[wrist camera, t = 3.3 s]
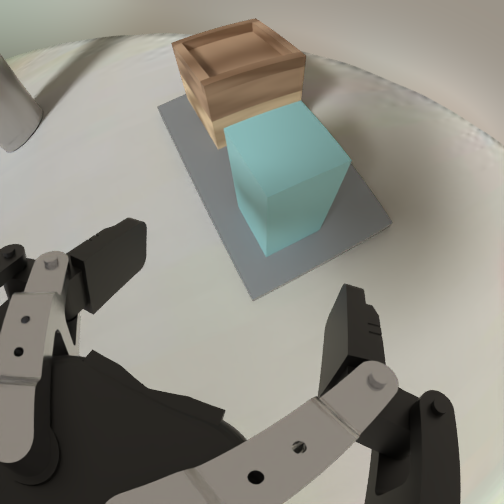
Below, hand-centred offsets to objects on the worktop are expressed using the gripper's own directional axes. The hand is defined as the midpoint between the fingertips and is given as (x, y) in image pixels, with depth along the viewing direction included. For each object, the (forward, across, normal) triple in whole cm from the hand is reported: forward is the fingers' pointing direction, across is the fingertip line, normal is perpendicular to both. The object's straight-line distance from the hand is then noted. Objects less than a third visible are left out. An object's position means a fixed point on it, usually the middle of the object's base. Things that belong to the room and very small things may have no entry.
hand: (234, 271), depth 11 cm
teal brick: (+13, 0, +3) cm, 14 cm away
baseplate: (+19, +4, -1) cm, 19 cm away
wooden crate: (+22, +7, -6) cm, 24 cm away
